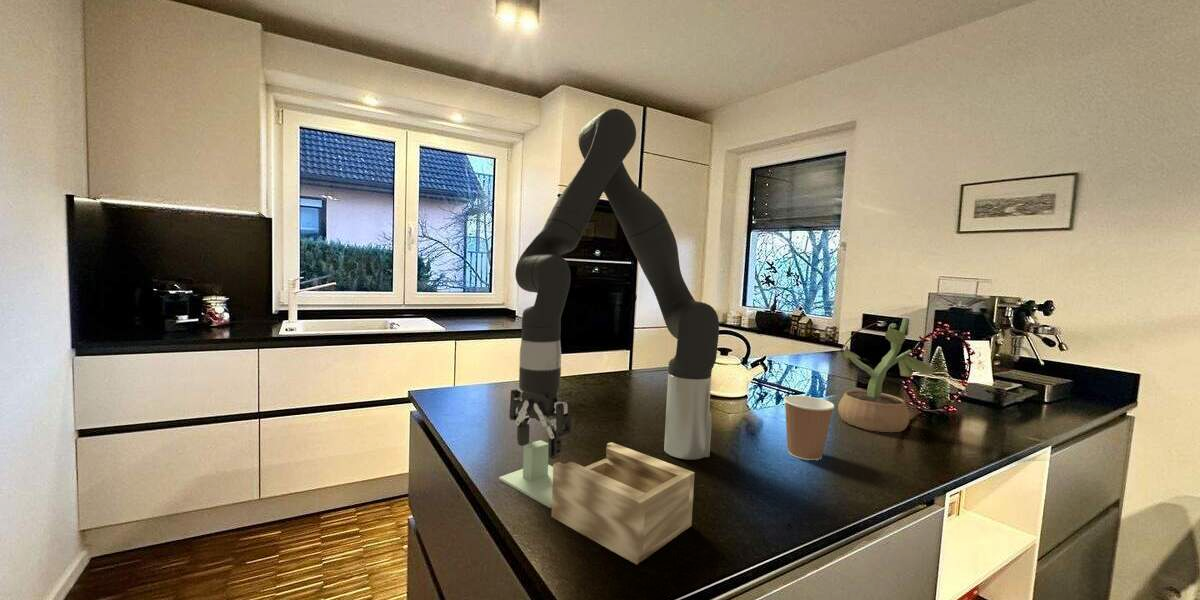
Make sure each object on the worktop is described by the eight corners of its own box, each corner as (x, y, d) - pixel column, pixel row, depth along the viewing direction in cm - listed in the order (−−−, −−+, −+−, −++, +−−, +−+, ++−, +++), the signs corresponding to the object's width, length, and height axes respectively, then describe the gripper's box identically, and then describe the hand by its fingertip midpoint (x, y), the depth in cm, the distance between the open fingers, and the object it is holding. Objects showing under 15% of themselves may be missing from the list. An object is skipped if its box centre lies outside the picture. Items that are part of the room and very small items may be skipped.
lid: (593, 490, 86) (595, 453, 86) (550, 511, 78) (551, 469, 78) (542, 466, 95) (543, 432, 95) (499, 482, 88) (500, 445, 87)
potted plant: (820, 416, 136) (828, 311, 134) (870, 413, 141) (879, 312, 139) (889, 446, 114) (900, 321, 112) (945, 441, 120) (956, 322, 118)
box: (691, 525, 75) (694, 472, 74) (636, 564, 64) (639, 503, 64) (609, 488, 86) (611, 442, 85) (551, 516, 76) (553, 463, 75)
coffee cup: (830, 451, 109) (834, 399, 108) (830, 468, 100) (835, 411, 99) (781, 442, 113) (785, 393, 113) (778, 457, 104) (782, 403, 103)
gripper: (582, 367, 85) (580, 456, 86) (530, 355, 95) (528, 435, 96) (551, 373, 80) (549, 468, 81) (499, 360, 89) (498, 445, 90)
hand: (538, 450), depth 88 cm, fingers open, 8 cm apart
